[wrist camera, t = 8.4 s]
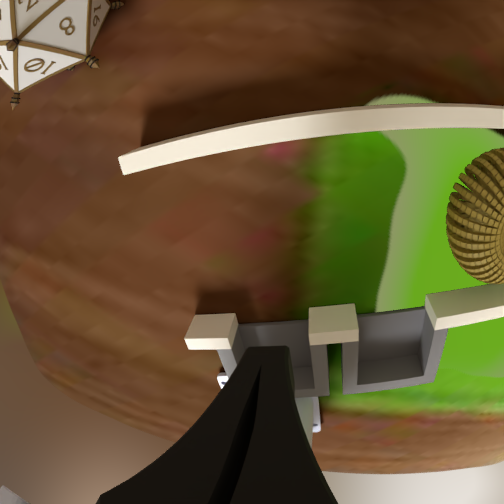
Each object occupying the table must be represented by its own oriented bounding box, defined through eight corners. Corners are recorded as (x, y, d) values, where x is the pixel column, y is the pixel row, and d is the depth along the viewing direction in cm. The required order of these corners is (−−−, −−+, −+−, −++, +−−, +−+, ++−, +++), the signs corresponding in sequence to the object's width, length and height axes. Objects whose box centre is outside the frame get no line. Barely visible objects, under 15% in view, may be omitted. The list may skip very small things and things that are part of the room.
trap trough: (514, 338, 19) (525, 358, 17) (218, 374, 25) (211, 397, 23) (552, 112, 11) (576, 118, 9) (140, 147, 17) (117, 157, 15)
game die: (112, 7, 16) (77, -97, 6) (163, 68, 15) (125, -80, 5) (8, 79, 15) (-63, -2, 5) (32, 159, 14) (-83, 69, 4)
